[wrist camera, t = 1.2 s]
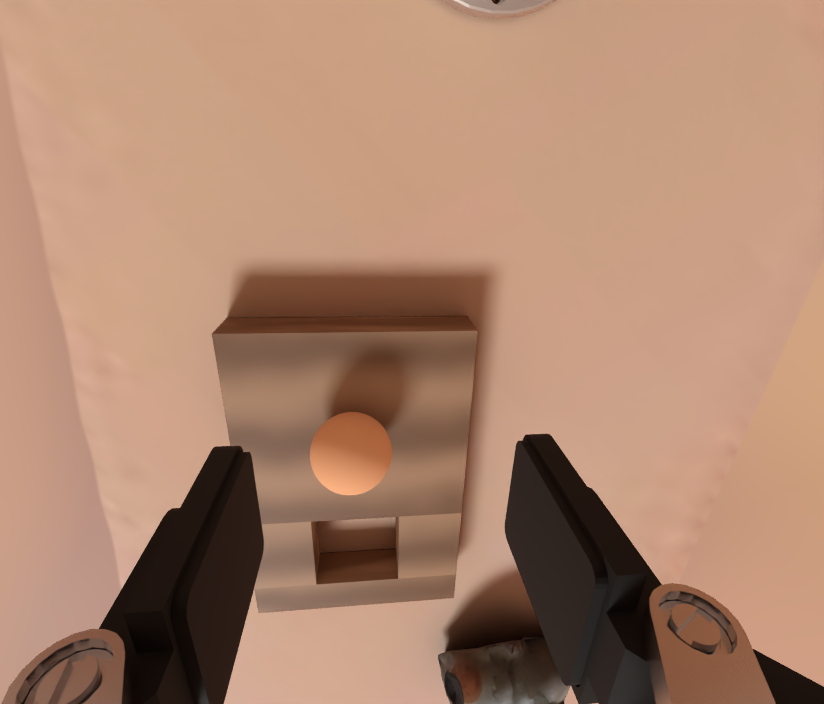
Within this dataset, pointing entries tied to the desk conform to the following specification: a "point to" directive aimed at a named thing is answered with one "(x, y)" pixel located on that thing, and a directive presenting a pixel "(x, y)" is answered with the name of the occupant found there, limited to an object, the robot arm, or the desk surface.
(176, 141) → the desk surface
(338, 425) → the ball
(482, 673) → the lucky cat figurine
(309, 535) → the board
